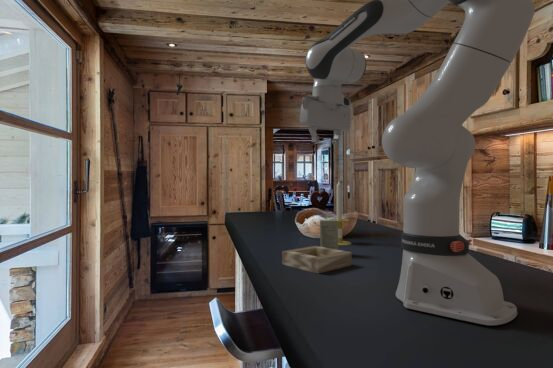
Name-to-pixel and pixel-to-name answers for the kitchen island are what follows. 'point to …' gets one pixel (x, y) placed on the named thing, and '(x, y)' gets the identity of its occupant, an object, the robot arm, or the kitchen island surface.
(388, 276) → the kitchen island surface
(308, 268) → the wooden tray
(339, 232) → the candle
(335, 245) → the skincare box
